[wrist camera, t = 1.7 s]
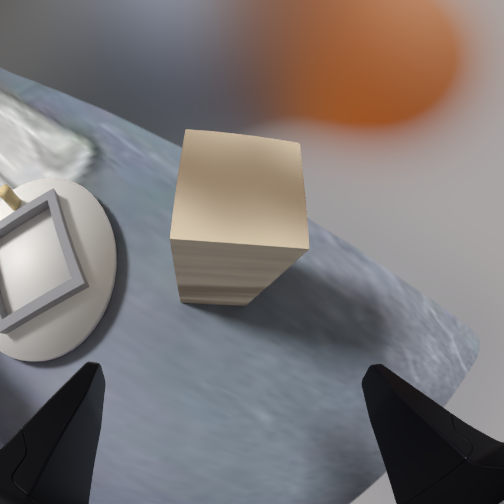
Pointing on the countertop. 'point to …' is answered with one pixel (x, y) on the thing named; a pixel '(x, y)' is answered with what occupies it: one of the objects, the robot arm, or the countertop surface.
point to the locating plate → (52, 268)
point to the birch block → (236, 216)
